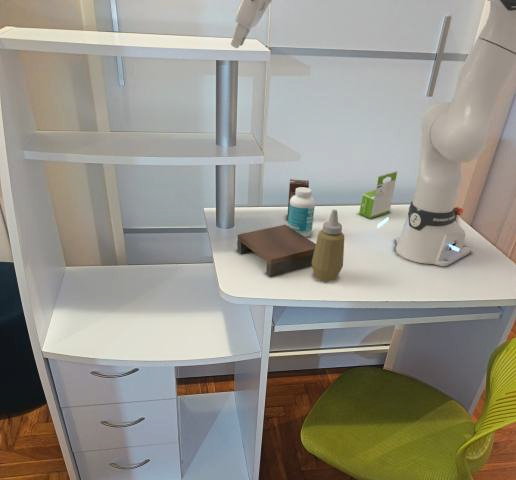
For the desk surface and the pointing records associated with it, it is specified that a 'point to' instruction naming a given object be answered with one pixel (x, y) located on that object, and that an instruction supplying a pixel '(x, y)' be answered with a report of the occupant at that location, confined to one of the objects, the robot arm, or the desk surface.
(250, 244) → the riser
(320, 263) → the squeeze bottle
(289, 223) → the pill bottle
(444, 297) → the desk surface
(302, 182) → the box
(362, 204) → the ink box
